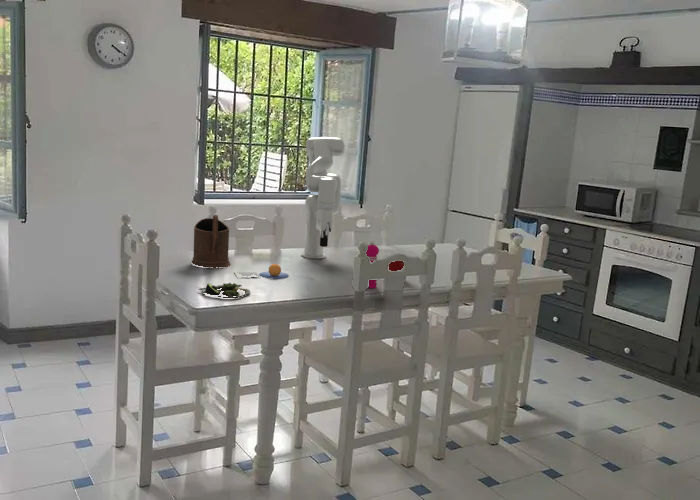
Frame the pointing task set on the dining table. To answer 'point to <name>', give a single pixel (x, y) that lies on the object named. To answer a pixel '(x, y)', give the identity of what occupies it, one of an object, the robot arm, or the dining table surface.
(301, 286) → the dining table surface
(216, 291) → the salad plate
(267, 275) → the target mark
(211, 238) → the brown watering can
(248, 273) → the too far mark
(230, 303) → the dining table surface
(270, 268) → the ball
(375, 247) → the pepper mill
